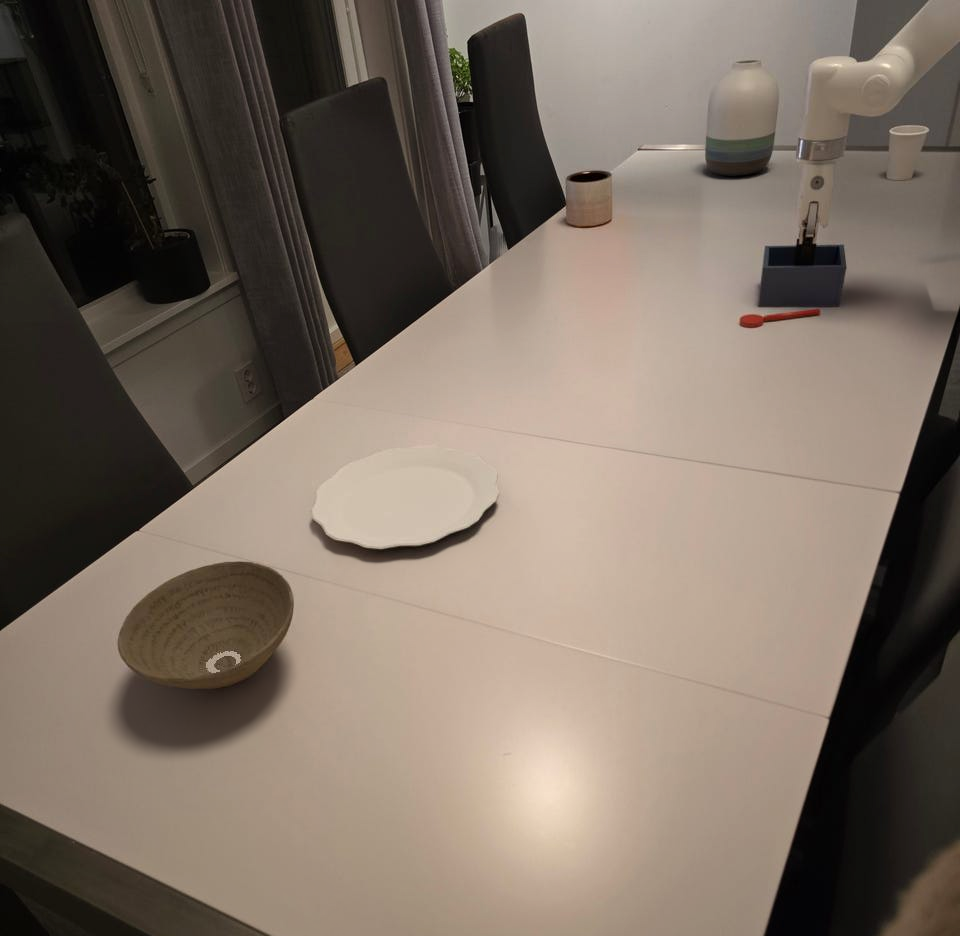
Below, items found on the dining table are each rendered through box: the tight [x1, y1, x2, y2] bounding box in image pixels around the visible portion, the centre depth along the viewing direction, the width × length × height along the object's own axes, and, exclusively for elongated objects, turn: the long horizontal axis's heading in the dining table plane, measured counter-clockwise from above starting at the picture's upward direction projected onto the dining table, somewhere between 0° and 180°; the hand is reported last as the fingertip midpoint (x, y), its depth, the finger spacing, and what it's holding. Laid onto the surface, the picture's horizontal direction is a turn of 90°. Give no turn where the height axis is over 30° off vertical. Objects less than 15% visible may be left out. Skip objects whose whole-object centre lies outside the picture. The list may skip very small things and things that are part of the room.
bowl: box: [117, 560, 295, 690], centre depth 88 cm, size 18×18×8 cm
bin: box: [758, 244, 847, 308], centre depth 150 cm, size 14×12×7 cm
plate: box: [310, 444, 500, 551], centre depth 112 cm, size 25×25×2 cm
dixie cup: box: [885, 124, 930, 181], centre depth 196 cm, size 8×8×10 cm
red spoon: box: [739, 308, 821, 329], centre depth 145 cm, size 14×4×1 cm, turn 94°
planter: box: [565, 169, 613, 228], centre depth 195 cm, size 11×11×10 cm
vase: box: [704, 58, 780, 177], centre depth 210 cm, size 17×17×24 cm
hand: (803, 264), depth 149 cm, fingers closed
